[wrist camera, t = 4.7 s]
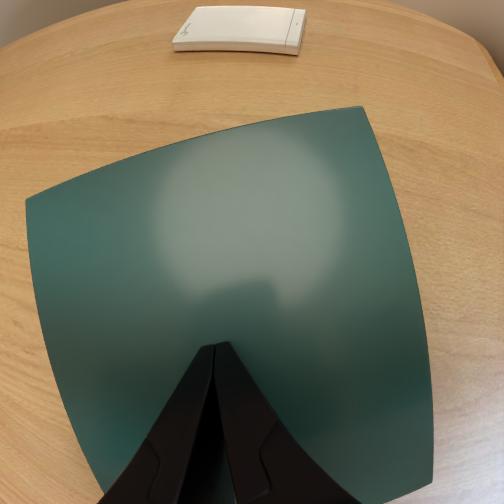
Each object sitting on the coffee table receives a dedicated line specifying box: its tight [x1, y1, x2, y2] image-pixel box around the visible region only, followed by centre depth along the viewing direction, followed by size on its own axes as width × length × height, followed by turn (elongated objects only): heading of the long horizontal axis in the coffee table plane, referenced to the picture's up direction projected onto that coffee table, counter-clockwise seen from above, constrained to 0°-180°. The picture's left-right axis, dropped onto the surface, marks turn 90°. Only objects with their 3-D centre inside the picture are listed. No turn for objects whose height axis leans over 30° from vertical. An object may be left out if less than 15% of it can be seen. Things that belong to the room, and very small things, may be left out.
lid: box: [25, 106, 434, 504], centre depth 9 cm, size 14×13×1 cm
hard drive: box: [172, 6, 306, 55], centre depth 26 cm, size 2×8×12 cm
